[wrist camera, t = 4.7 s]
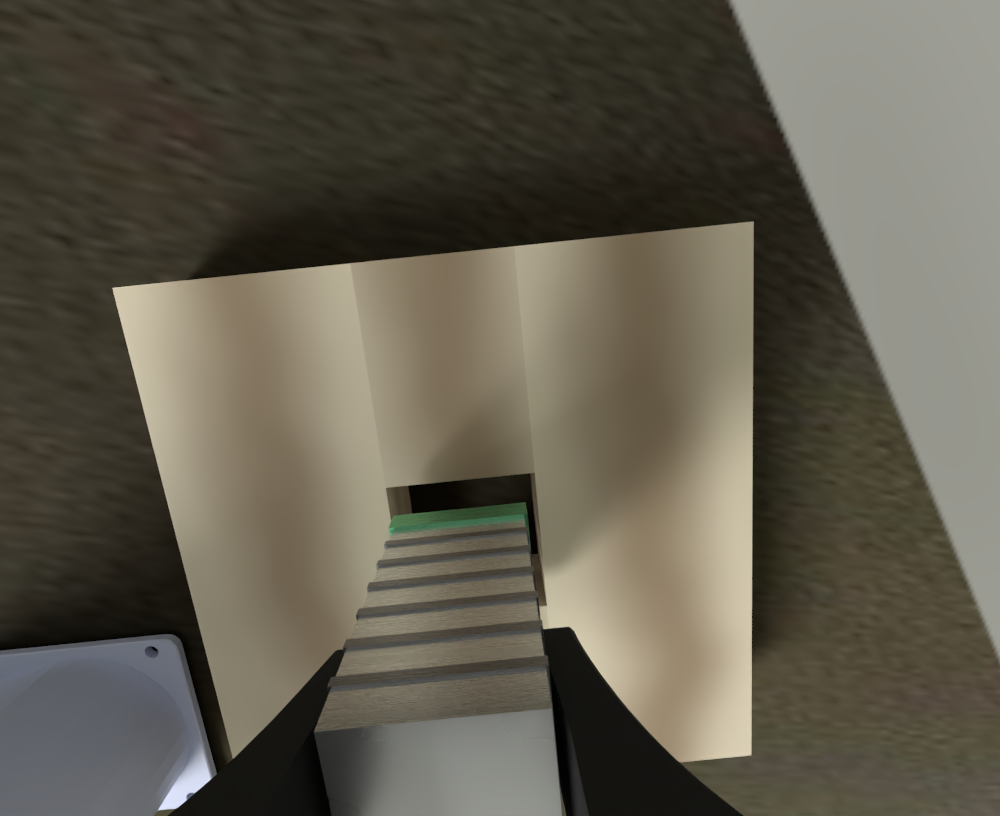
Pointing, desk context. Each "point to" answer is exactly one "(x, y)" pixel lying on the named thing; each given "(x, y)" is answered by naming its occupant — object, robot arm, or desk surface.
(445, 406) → the stand block
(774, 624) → the desk surface
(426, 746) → the grey striped block
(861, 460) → the desk surface
